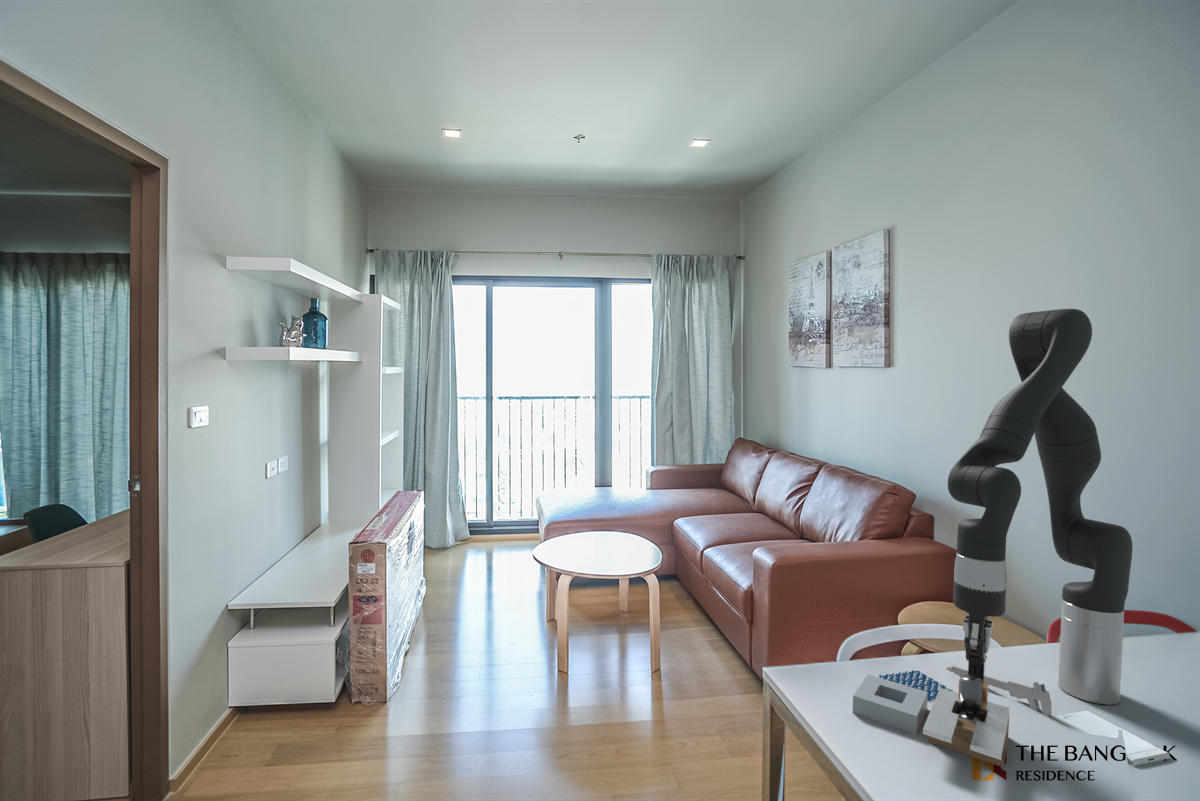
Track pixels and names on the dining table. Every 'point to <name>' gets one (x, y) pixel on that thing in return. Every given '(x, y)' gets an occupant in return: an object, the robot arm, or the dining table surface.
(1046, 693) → the caliper
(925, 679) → the woven mat
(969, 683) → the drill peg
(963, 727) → the socket block
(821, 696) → the dining table surface
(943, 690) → the plate
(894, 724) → the block
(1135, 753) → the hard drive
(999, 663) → the dining table surface
